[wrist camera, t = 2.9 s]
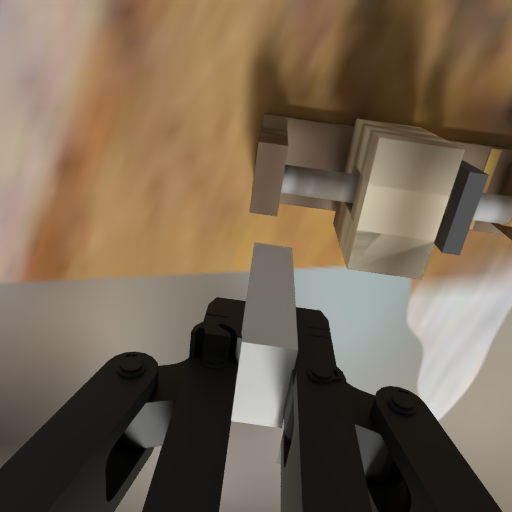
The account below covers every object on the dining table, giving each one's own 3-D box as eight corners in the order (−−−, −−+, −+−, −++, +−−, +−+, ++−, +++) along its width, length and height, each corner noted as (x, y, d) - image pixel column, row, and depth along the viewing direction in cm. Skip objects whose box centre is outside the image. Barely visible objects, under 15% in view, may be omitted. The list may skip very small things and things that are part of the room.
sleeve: (333, 223, 36) (347, 269, 28) (356, 118, 33) (379, 137, 25) (391, 231, 36) (421, 279, 28) (421, 127, 33) (465, 149, 25)
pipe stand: (253, 196, 37) (247, 225, 31) (264, 113, 34) (260, 126, 28) (502, 231, 38) (548, 268, 31) (535, 151, 35) (592, 173, 28)
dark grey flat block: (418, 223, 34) (442, 252, 29) (440, 153, 32) (470, 172, 27) (433, 225, 34) (459, 255, 29) (456, 156, 32) (489, 174, 27)
